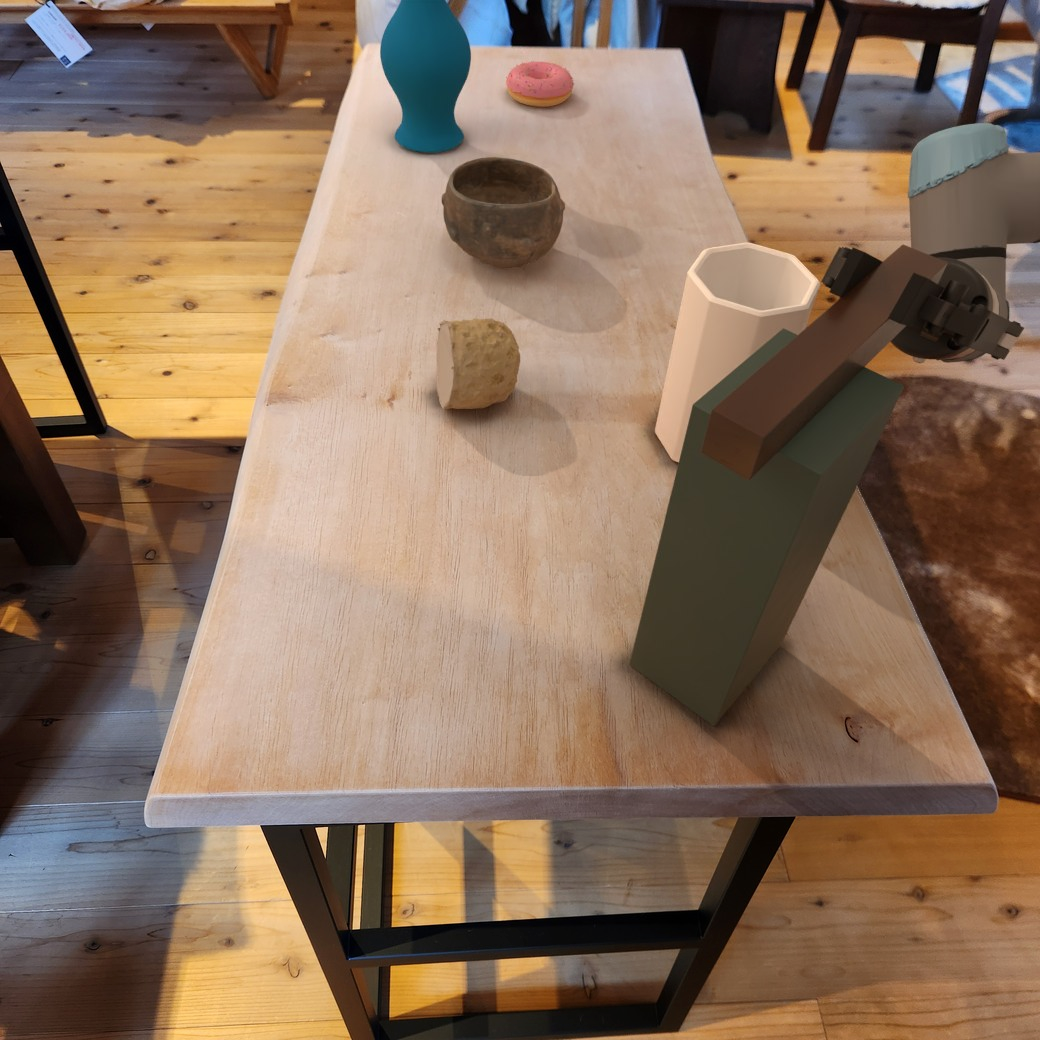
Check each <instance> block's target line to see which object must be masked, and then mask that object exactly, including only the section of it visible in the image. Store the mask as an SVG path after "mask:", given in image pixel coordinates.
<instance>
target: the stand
mask: <svg viewBox="0 0 1040 1040" xmlns="http://www.w3.org/2000/svg"><path fill="white" fill-rule="evenodd" d="M796 336H797V334H795V333H792V332H790V331H788V330H786V329H784V328H783V329H782V330H781V331H779V332H778V333H777V334H776V335H775V336H773V337H772V338H771V339H770V340H769V341H768V342H766V343H765V344H764V345H763V346H762V347H760V348H759V349H758V350H757V351H756V352H755V353H753V354H752V355H751V356H750V357H749V358H747V359H746V360H745V361H744V362H743V363H741V364H740V365H739V366H738V367H737V368H736V369H734V370H733V371H732V372H731V373H730V374H728V375H727V376H726V377H725V378H724V379H722V380H721V381H720V382H719V383H718V384H717V385H715V386H714V387H713V388H712V389H711V390H709V391H708V392H707V393H706V394H705V395H703V396H702V397H701V398H700V399H699V400H698V401H696V402H695V403H694V404H693V406H692V410H691V414H690V418H689V422H688V426H687V430H686V435H685V439H684V443H683V447H682V451H681V455H680V459H679V462H677V463H678V464H677V467H676V472H675V475H674V480H673V483H672V488H671V491H670V492H671V493H670V497H669V500H668V505H667V507H666V513H665V517H664V521H663V526H662V529H661V534H660V538H659V541H658V546H657V549H656V554H655V557H654V558H655V559H654V562H653V566H652V571H651V575H650V577H649V582H648V587H647V590H646V595H645V599H644V603H643V607H642V610H641V614H640V619H639V623H638V628H637V631H636V636H635V639H634V643H633V648H632V652H631V655H630V659H629V660H630V661H629V664H628V665H629V666H630V667H632V668H633V669H634V670H636V671H637V672H638V673H640V674H641V675H642V676H644V677H645V678H647V679H648V680H649V681H651V682H652V683H654V685H657V686H658V687H659V688H660V689H662V690H663V691H664V692H666V693H667V694H669V695H670V696H671V697H672V698H674V699H675V700H677V701H678V702H679V703H681V704H682V705H683V706H685V707H686V708H687V709H689V710H690V711H692V712H693V713H694V714H696V715H697V716H698V717H700V718H701V719H702V720H704V721H705V722H707V723H708V724H710V725H711V726H712V727H715V726H716V725H717V724H718V723H719V722H720V720H721V719H722V717H724V715H725V714H726V713H727V712H728V710H729V709H730V708H731V707H732V706H733V704H734V703H735V702H736V701H737V700H738V698H739V697H740V696H741V695H742V694H743V692H744V691H745V690H746V688H747V687H748V686H749V685H750V684H751V682H752V681H753V680H754V679H755V677H756V676H757V675H758V674H759V673H760V671H761V670H762V669H763V668H764V667H765V666H766V664H767V663H768V662H769V661H770V659H771V658H772V656H773V655H774V654H775V653H776V652H777V651H778V649H780V647H781V646H782V644H783V642H784V640H785V637H786V635H787V633H788V631H789V629H790V627H791V625H792V624H793V621H794V619H795V617H796V615H797V612H798V610H799V608H800V607H801V604H802V602H803V600H804V598H805V596H806V594H807V592H808V589H809V588H810V585H811V583H812V581H813V579H814V577H815V575H816V572H817V570H818V569H819V566H820V564H821V562H822V560H823V558H824V557H825V554H826V552H827V550H828V548H829V546H830V543H831V542H832V539H833V538H834V535H835V532H837V528H838V526H839V524H840V523H841V520H842V518H843V516H844V514H845V512H846V511H847V508H848V505H849V504H850V502H851V500H852V497H853V495H854V493H855V491H856V489H857V487H858V485H859V482H860V480H861V479H862V477H863V474H864V472H865V470H866V468H867V466H868V464H869V462H870V459H871V457H872V456H873V453H874V452H875V450H876V447H877V445H878V443H879V441H880V440H881V439H880V438H881V437H882V435H883V433H884V430H885V428H886V426H887V424H888V422H889V421H890V420H889V419H890V418H891V416H892V413H893V411H894V410H895V407H896V405H897V403H898V401H899V399H900V396H901V394H902V392H903V391H904V388H905V385H904V384H902V383H900V382H897V381H896V380H894V379H891V378H889V377H887V376H885V375H883V374H880V373H878V372H876V371H874V370H872V369H870V368H867V366H865V367H864V368H863V369H862V370H861V371H860V372H859V373H858V374H857V375H856V376H855V377H854V378H853V379H852V380H851V381H850V382H849V383H848V384H847V385H846V386H845V387H844V388H843V389H842V390H841V391H840V392H838V393H837V394H836V395H835V396H834V397H833V398H832V399H831V400H830V401H829V402H828V403H827V404H826V405H825V406H824V407H823V408H822V409H821V410H820V411H819V412H818V413H817V414H816V415H815V416H814V417H813V418H812V419H811V420H810V421H809V422H808V423H807V424H806V425H805V426H804V427H803V428H802V429H801V430H800V431H799V432H798V433H797V434H796V435H795V436H794V437H793V438H792V439H791V440H790V441H789V442H788V443H787V444H786V445H785V446H784V447H783V448H782V449H781V450H780V451H779V452H778V453H777V454H776V455H775V456H773V457H772V458H771V459H770V460H769V461H768V462H767V463H766V464H765V465H764V466H763V467H762V468H761V469H760V470H759V471H758V472H757V473H756V474H755V475H754V476H753V477H752V478H751V479H750V480H747V479H745V478H744V477H742V476H740V475H738V474H737V473H735V472H733V471H732V470H730V469H728V468H726V467H725V466H723V465H721V464H719V463H718V462H716V461H714V460H712V459H711V458H709V457H707V456H705V455H704V454H702V453H701V448H702V445H703V441H704V437H705V434H706V430H707V426H708V422H709V419H710V415H711V411H712V409H713V408H714V407H715V406H717V405H718V404H719V403H720V402H721V401H722V400H724V399H725V398H726V397H727V396H728V395H729V394H730V393H732V392H733V391H734V390H735V389H736V388H737V387H739V386H740V385H741V384H742V383H743V382H744V381H746V380H747V379H748V378H749V377H750V376H751V375H752V374H754V373H755V372H756V371H757V370H758V369H759V368H761V367H762V366H763V365H764V364H765V363H766V362H767V361H769V360H770V359H771V358H772V357H773V356H774V355H776V354H777V353H778V352H779V351H780V350H781V349H782V348H784V347H785V346H786V345H787V344H788V343H789V342H791V341H792V340H793V339H794V338H795V337H796Z"/></svg>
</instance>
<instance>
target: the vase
mask: <svg viewBox="0 0 1040 1040" xmlns="http://www.w3.org/2000/svg"><path fill="white" fill-rule="evenodd" d="M379 52H380V53H379V56H380V62H381V63H380V64H381V66H382V70H383V74H384V76H385V78H386V80H387V82H388V84H389V86H390V87H391V89H392V91H393V93H394V94H395V97H396V98H397V100H398V103H399V105H400V108H401V116H402V117H401V123H400V124H399V126H398V127H397V129H396V131H395V132H394V139H395V141H396V142H397V143H398V144H399V145H400V146H402V147H403V148H404V149H407V150H410V151H412V152H417V153H427V154H429V153H433V154H434V153H442V152H446V151H450V150H453V149H455V148H456V147H458V146H459V145H461V143H462V142H463V140H464V139H465V134H464V132H463V130H462V129H461V127H460V125H458V124H457V121H456V117H455V109H456V104H457V102H458V98H459V96H460V94H461V93H462V90H463V88H464V86H465V84H466V82H467V80H468V77H469V73H470V69H471V61H472V50H471V45H470V41H469V38H468V35H467V33H466V30H465V29H464V27H463V25H462V24H461V22H460V21H459V19H458V18H457V16H456V15H455V14H454V12H453V10H452V9H451V8H450V5H449V4H448V2H447V1H446V0H400V2H399V4H398V6H397V8H396V10H395V12H394V13H393V15H392V16H391V18H390V20H389V21H388V23H387V25H386V27H385V29H384V31H383V33H382V37H381V41H380V50H379Z"/></svg>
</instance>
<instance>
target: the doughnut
mask: <svg viewBox="0 0 1040 1040" xmlns="http://www.w3.org/2000/svg"><path fill="white" fill-rule="evenodd" d="M574 81H575V80H574V78H573V77H572V75H571V73H570V71H569V70H567V67H563V66H561V65H559V64H557V63H553V62H549V61H533V60H531V61H528V62H522V63H520V64H516V66H514V67H513V68H511V70H510V71H509V73H508V74H507V77H506V82H505V83H506V88H507V92H508V94H509V95H510V96H511V98H512V99H514V100H515V101H517V102H518V103H521V104H524V105H526V106H531V107H538V108H539V107H540V108H541V107H543V108H544V107H552V106H557V105H559V104H562V103H563V102H565V101H566V100H568V99H569V97H570V96H571V94H572V92H573V89H574V85H575V83H574Z"/></svg>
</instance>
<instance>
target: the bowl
mask: <svg viewBox="0 0 1040 1040" xmlns="http://www.w3.org/2000/svg"><path fill="white" fill-rule="evenodd" d="M441 204H442V206H443V207H442V210H443V211H442V213H443V215H442V216H443V221H444V224H445V228H446V231H447V233H448V236H449V238H450V240H451V241H452V242H454V243H455V244H456V245H457V246H458V247H459V248H460V249H461V250H462V251H464V253H466V254H467V255H469V256H471V257H473V258H474V259H476V260H478V261H480V262H481V263H484V264H485V265H488V266H490V267H492V268H497V269H503V270H507V269H509V270H510V269H517V268H521V267H524V266H526V265H529V264H532V263H535V262H536V261H538V260H540V259H542V258H543V257H544V256H545V255H547V254H548V252H549V251H550V250H551V249H552V248H553V247H554V245H555V244H556V242H557V240H558V238H559V235H560V233H561V229H562V226H563V221H564V212H565V211H566V204H565V202H564V201H563V199H562V198H561V194H560V192H559V188H558V185H557V184H556V181H555V180H554V178H553V177H552V175H551V174H550V173H549V172H547V171H546V170H545V169H544V168H542V167H540V166H538V165H536V164H534V163H530V162H527V161H524V160H519V159H515V158H507V157H498V156H488V157H487V156H486V157H479V158H475V159H471V160H468V161H466V162H464V163H462V164H460V165H457V167H456V168H455V169H453V170H452V172H451V174H450V175H449V178H448V181H447V183H446V187H445V192H444V193H442V194H441Z"/></svg>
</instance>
